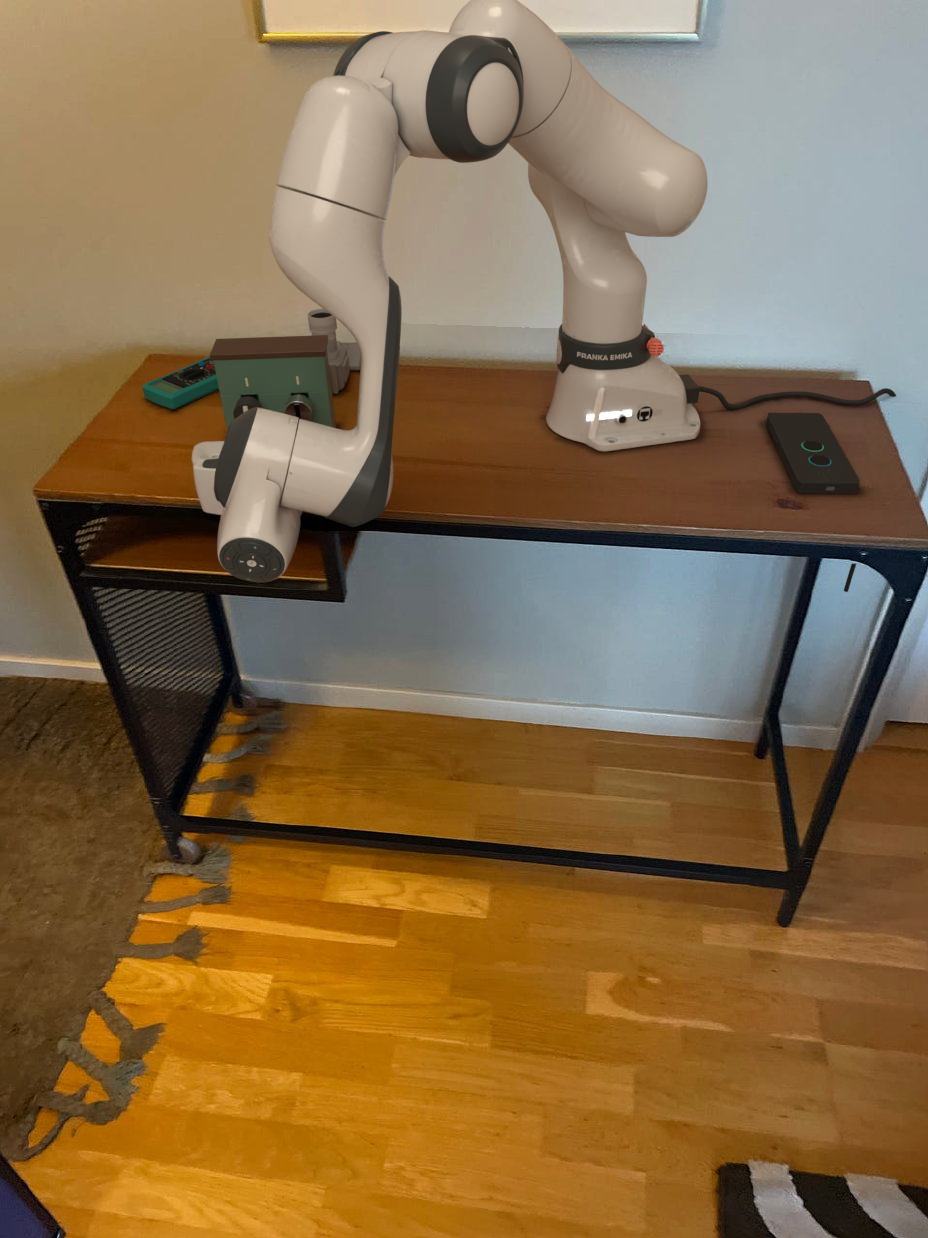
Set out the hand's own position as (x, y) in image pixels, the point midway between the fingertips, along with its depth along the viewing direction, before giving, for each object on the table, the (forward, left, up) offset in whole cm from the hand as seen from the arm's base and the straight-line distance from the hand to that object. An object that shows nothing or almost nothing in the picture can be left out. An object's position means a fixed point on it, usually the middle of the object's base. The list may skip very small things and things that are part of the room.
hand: (281, 433), depth 120 cm
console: (+2, -12, -7) cm, 14 cm away
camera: (-4, -33, -7) cm, 34 cm away
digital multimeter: (+18, -29, -7) cm, 35 cm away
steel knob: (-2, -9, -2) cm, 9 cm away
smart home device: (-72, 0, -7) cm, 72 cm away
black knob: (+5, -9, -2) cm, 10 cm away
